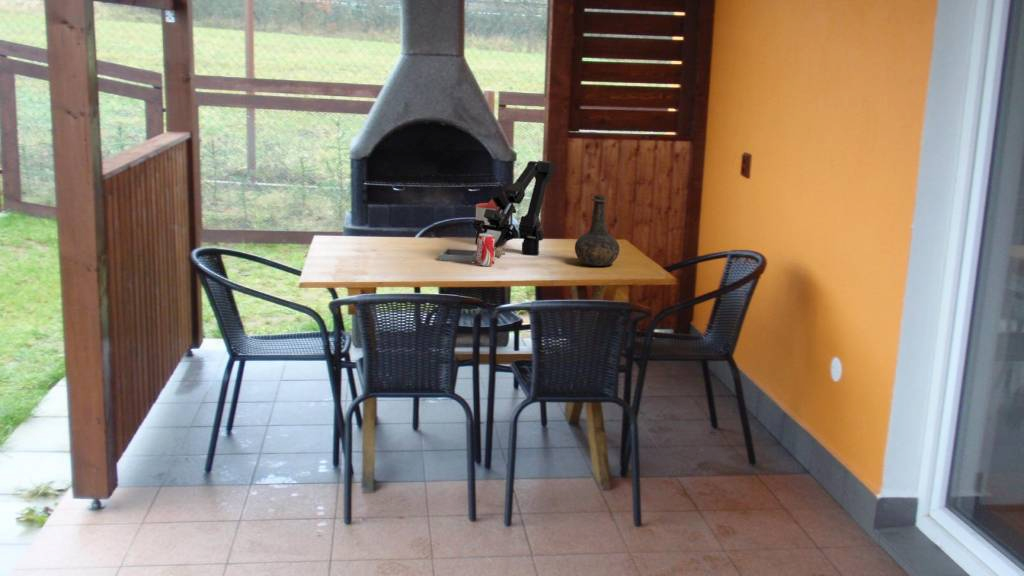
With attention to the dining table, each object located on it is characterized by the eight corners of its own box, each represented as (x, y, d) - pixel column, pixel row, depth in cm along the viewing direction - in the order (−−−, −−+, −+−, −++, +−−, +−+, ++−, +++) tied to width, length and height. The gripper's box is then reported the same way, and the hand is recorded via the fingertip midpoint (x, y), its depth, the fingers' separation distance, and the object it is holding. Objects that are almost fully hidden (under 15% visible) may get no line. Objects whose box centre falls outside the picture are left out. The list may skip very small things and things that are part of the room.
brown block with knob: (505, 254, 412) (505, 247, 411) (501, 258, 403) (502, 250, 403) (485, 253, 413) (486, 245, 412) (482, 257, 404) (482, 249, 404)
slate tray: (479, 256, 404) (479, 250, 404) (473, 263, 391) (473, 256, 391) (446, 254, 406) (446, 248, 405) (439, 260, 393) (439, 254, 393)
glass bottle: (610, 260, 409) (614, 192, 403) (624, 269, 392) (629, 198, 386) (568, 260, 405) (572, 191, 399) (580, 269, 388) (584, 197, 382)
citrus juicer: (486, 249, 422) (488, 201, 418) (467, 242, 437) (469, 196, 433) (518, 246, 430) (520, 200, 426) (499, 240, 445) (500, 195, 440)
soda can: (492, 267, 384) (493, 236, 382) (474, 266, 386) (475, 235, 383) (496, 264, 391) (497, 233, 388) (478, 262, 392) (479, 232, 390)
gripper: (475, 198, 392) (458, 229, 386) (515, 203, 382) (498, 235, 376) (486, 216, 400) (469, 247, 394) (525, 222, 391) (508, 253, 384)
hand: (485, 245), depth 387 cm, fingers open, 9 cm apart
